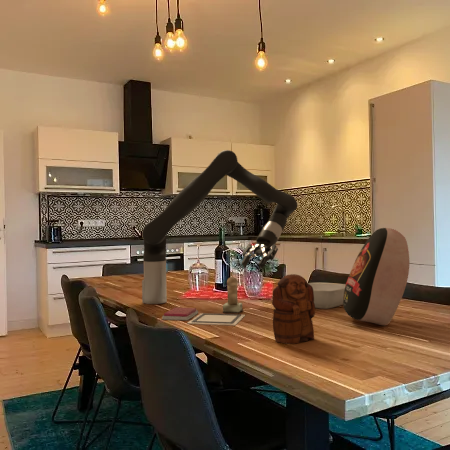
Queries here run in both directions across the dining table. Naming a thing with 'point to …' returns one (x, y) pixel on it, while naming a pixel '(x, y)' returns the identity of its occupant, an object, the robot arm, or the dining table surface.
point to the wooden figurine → (293, 310)
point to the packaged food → (378, 278)
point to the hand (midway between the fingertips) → (251, 266)
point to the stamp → (232, 297)
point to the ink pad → (180, 314)
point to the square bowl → (328, 294)
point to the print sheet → (217, 319)
